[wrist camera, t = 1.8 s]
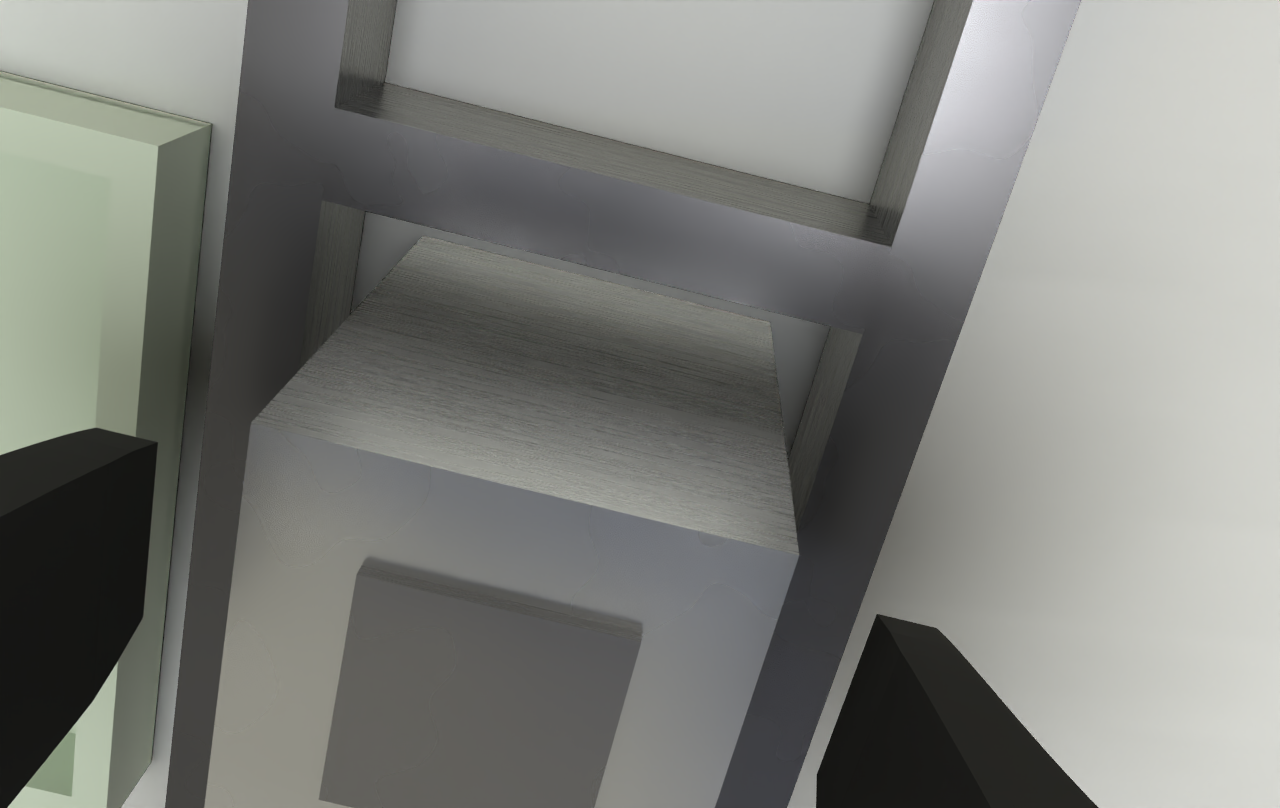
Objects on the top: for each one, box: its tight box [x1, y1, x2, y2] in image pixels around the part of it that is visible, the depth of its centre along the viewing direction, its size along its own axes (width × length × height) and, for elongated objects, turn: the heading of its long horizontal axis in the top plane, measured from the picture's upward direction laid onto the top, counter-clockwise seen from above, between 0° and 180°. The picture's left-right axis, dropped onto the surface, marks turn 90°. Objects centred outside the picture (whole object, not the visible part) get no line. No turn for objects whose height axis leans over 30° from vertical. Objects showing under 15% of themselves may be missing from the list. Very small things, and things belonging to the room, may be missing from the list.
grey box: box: [204, 236, 799, 808], centre depth 13 cm, size 4×4×6 cm
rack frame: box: [165, 0, 1081, 808], centre depth 15 cm, size 22×8×2 cm, turn 167°
